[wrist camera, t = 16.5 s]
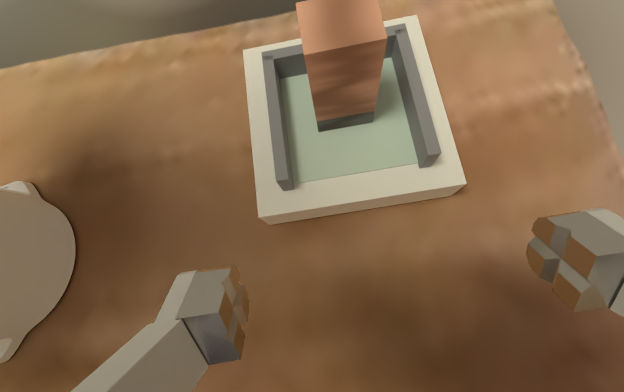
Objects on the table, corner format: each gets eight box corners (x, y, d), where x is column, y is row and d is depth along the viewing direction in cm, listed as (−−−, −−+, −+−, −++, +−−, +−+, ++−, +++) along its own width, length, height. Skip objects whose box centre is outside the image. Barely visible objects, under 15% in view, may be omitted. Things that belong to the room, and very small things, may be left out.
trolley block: (318, 132, 27) (303, 54, 18) (312, 94, 28) (295, 3, 19) (372, 122, 27) (387, 38, 17) (364, 85, 28) (374, -14, 18)
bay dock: (269, 224, 30) (247, 210, 23) (254, 75, 35) (232, 27, 28) (450, 196, 29) (482, 171, 22) (408, 44, 34) (424, -14, 27)
